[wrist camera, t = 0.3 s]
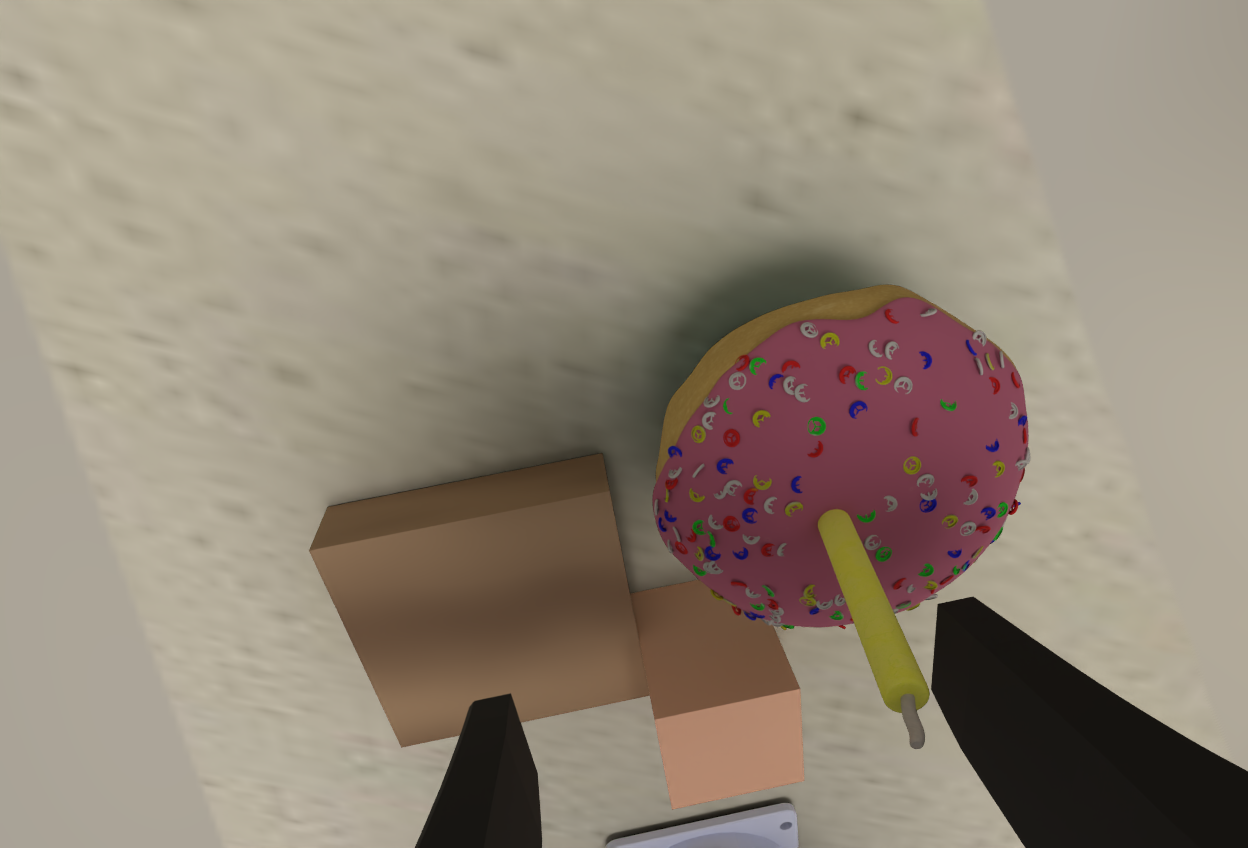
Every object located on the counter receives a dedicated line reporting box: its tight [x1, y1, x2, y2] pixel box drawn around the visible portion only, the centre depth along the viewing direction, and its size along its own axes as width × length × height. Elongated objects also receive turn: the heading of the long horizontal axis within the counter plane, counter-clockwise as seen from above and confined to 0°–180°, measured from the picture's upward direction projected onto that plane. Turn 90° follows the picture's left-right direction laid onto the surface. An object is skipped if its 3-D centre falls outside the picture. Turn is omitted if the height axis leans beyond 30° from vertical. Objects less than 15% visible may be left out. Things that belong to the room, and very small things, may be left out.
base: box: [309, 453, 650, 747], centre depth 21 cm, size 8×8×2 cm
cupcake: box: [653, 285, 1030, 749], centre depth 15 cm, size 9×8×12 cm
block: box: [630, 580, 804, 809], centre depth 22 cm, size 4×4×5 cm
